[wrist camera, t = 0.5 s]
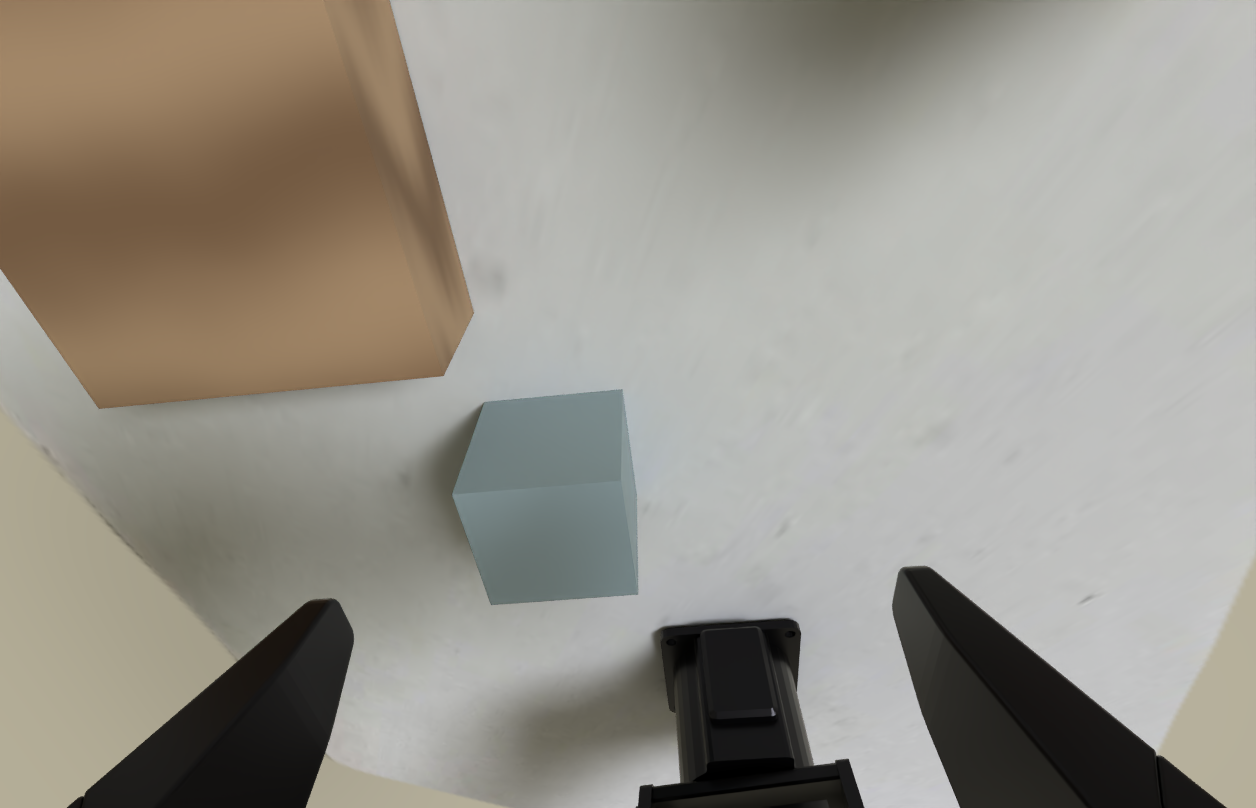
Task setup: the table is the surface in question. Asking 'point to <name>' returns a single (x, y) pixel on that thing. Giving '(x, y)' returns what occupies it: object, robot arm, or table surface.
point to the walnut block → (223, 197)
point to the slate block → (551, 498)
